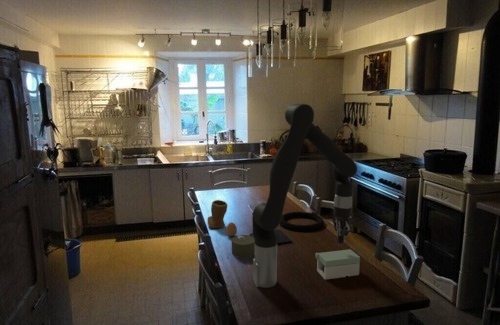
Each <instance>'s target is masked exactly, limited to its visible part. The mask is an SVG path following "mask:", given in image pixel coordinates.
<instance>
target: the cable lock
mask: <svg viewBox="0 0 500 325" xmlns="http://www.w3.org/2000/svg"><path fill="white" fill-rule="evenodd" d="M292 218H306V219H310V220H313V221H315V223H313V224H305V225H303V224H294V223H290V222H287V221H286V220H288V219H292ZM324 224H325V221H324V219H323V217H321V216H320V215H319V214H318V212H316V211H312V212H310V211H309V212H306V211H292V212H287V213H286V212H285V213H282V217H281V221H280V223H279V225H280V226H281V227H283V228H285V229H287V230H291V231H295V232H296V231H297V232H312V231H316V230H320V229H321V228H322V227H324Z"/></svg>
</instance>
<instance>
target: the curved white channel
mask: <svg viewBox="0 0 500 325" xmlns="http://www.w3.org/2000/svg"><path fill="white" fill-rule="evenodd" d="M316 262H317V263H316V264H317V266H316V271H317V272H318V274H320V276H321V277H322V278H323V279H324V280H331V279H339V278H340V279H341V278H347V277H346V276H348V277H353V276H354V277H355V276H359V275H360V264H361V262H360V263H352V264H344V265H336V266H328V267H325V266H324V265H323V264H322V263H321V262H320V261H319V260H318V259H316Z"/></svg>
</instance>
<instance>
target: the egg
mask: <svg viewBox="0 0 500 325" xmlns="http://www.w3.org/2000/svg"><path fill="white" fill-rule="evenodd" d="M237 228H238V227H237V225H236V223H234V222H232V221H231V222H229V223H228V224H227V225H226V228H225V232H226V234H227V236H229V237H235V236H236V234H237V232H238V229H237Z"/></svg>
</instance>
